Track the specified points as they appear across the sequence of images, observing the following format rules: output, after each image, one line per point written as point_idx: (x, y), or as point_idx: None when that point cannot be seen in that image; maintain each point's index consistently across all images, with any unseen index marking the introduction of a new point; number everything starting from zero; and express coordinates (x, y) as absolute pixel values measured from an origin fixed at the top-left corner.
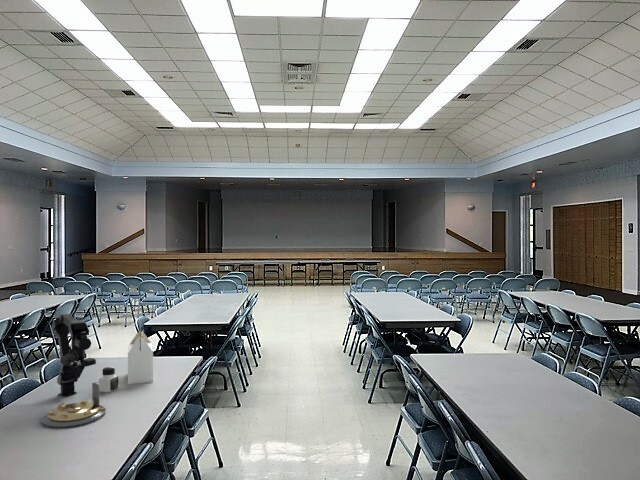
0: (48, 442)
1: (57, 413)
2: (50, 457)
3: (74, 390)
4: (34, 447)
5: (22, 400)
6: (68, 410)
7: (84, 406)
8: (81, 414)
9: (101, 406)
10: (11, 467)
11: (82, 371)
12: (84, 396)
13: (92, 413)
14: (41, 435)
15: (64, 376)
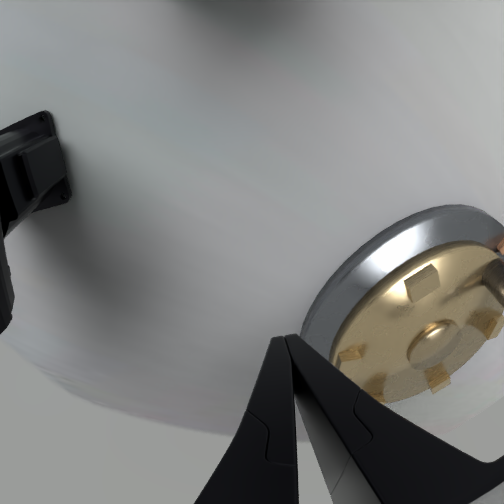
0: (449, 397)
1: (391, 385)
2: (480, 398)
3: (48, 142)
4: (436, 413)
5: (8, 337)
6: (427, 367)
7: (448, 301)
8: (476, 338)
9: (484, 221)
10: (442, 431)
11: (350, 380)
12: (168, 104)
13: (502, 309)
14: (412, 403)
15: (4, 322)
